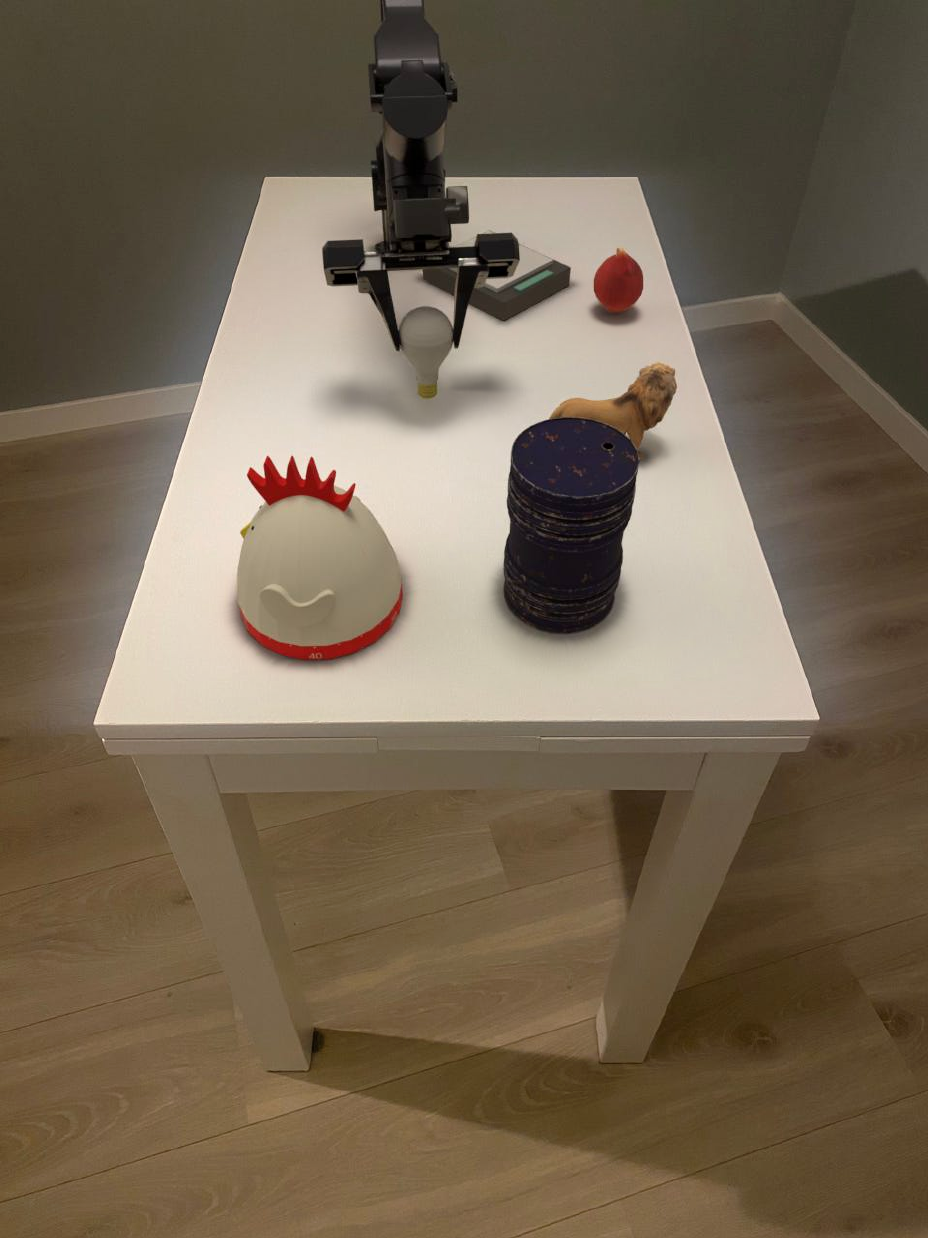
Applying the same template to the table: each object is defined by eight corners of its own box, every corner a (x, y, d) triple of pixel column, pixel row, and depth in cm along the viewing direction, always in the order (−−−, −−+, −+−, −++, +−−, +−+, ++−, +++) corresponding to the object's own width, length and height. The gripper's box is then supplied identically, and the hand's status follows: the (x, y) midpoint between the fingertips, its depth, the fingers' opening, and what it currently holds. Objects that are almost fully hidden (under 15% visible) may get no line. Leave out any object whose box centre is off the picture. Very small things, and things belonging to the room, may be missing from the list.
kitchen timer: (263, 537, 86) (234, 399, 75) (412, 548, 85) (405, 410, 74) (222, 652, 76) (181, 515, 65) (388, 666, 76) (376, 529, 64)
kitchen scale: (422, 279, 118) (422, 256, 115) (488, 247, 123) (489, 225, 121) (503, 321, 111) (504, 297, 109) (569, 285, 117) (571, 262, 114)
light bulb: (461, 388, 99) (461, 301, 91) (443, 417, 95) (442, 329, 88) (412, 377, 100) (409, 291, 92) (393, 406, 96) (388, 319, 89)
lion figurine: (650, 424, 97) (665, 348, 91) (675, 454, 94) (692, 377, 87) (520, 453, 94) (525, 377, 87) (541, 486, 91) (548, 408, 84)
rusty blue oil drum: (532, 649, 77) (545, 512, 66) (483, 571, 83) (487, 434, 72) (637, 614, 80) (666, 477, 68) (582, 541, 86) (601, 404, 74)
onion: (638, 301, 114) (648, 237, 108) (639, 326, 110) (649, 261, 104) (590, 298, 115) (597, 235, 109) (590, 323, 111) (597, 258, 105)
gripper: (311, 153, 82) (325, 334, 83) (522, 145, 83) (533, 323, 84) (320, 202, 93) (333, 361, 94) (506, 194, 94) (517, 351, 95)
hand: (427, 349), depth 92 cm, fingers closed on light bulb, 5 cm apart
